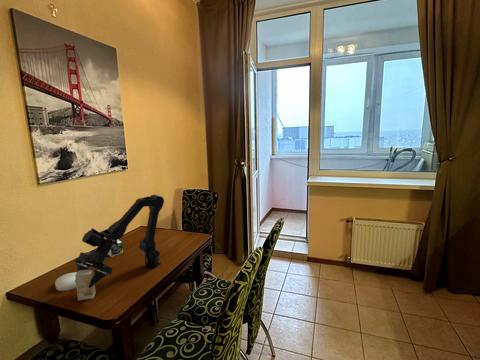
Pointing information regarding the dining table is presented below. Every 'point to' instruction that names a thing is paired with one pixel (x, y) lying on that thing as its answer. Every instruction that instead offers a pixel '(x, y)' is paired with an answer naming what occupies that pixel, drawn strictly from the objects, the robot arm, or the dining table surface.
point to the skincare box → (85, 284)
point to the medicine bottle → (116, 249)
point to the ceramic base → (66, 282)
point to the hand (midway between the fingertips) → (82, 284)
